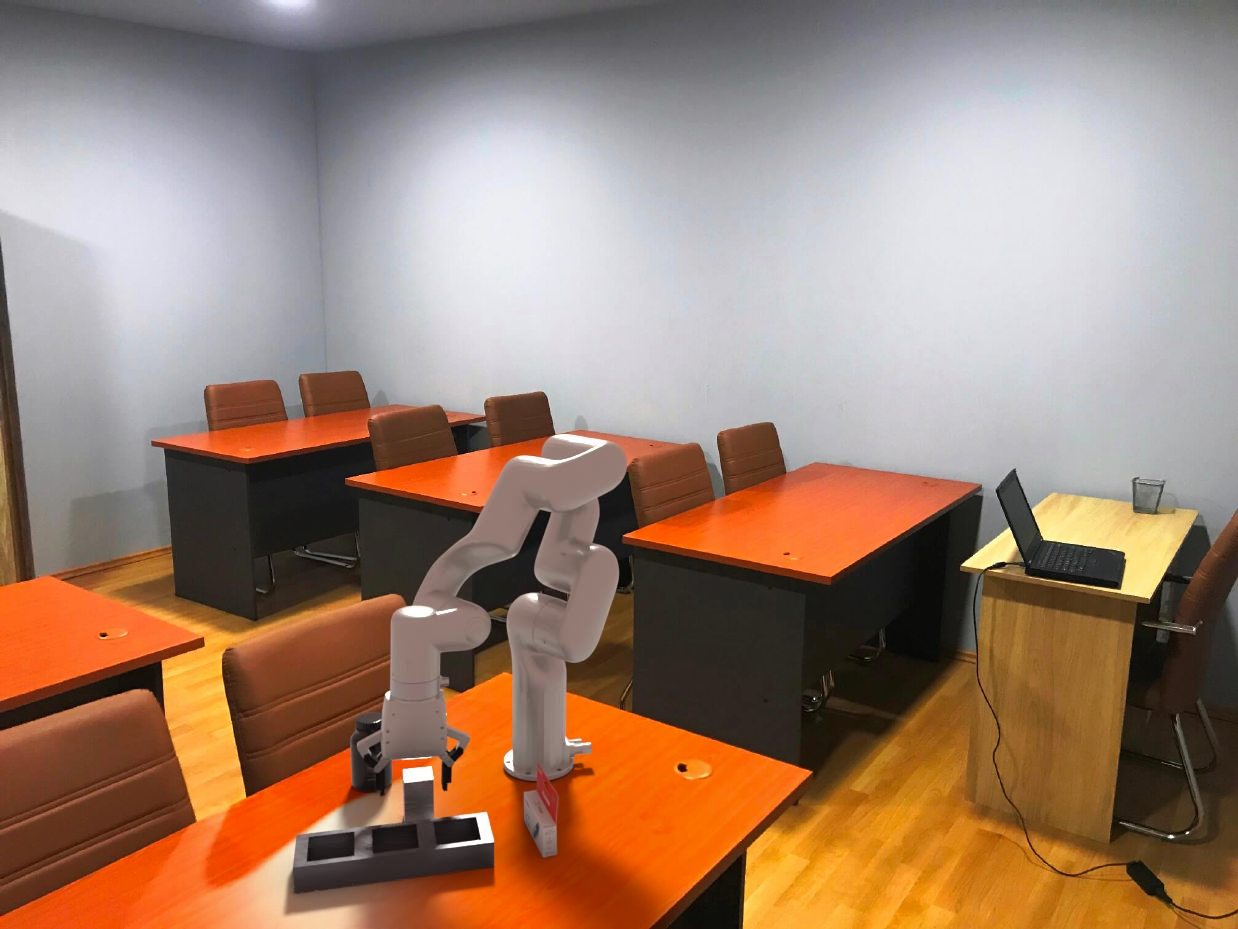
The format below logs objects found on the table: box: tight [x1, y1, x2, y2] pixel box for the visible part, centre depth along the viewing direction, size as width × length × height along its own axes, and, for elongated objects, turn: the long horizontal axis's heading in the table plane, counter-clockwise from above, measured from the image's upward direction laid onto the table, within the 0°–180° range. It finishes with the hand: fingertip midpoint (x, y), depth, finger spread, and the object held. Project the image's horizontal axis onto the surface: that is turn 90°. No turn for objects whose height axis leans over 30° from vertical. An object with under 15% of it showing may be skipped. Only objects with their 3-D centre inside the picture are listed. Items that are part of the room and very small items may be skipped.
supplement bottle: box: [349, 711, 393, 793], centre depth 163 cm, size 7×7×12 cm
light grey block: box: [402, 766, 435, 822], centre depth 152 cm, size 4×4×8 cm
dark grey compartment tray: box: [292, 811, 495, 894], centre depth 141 cm, size 28×8×4 cm, turn 105°
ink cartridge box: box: [523, 763, 559, 858], centre depth 148 cm, size 2×11×10 cm, turn 21°
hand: (413, 789), depth 151 cm, fingers open, 9 cm apart
